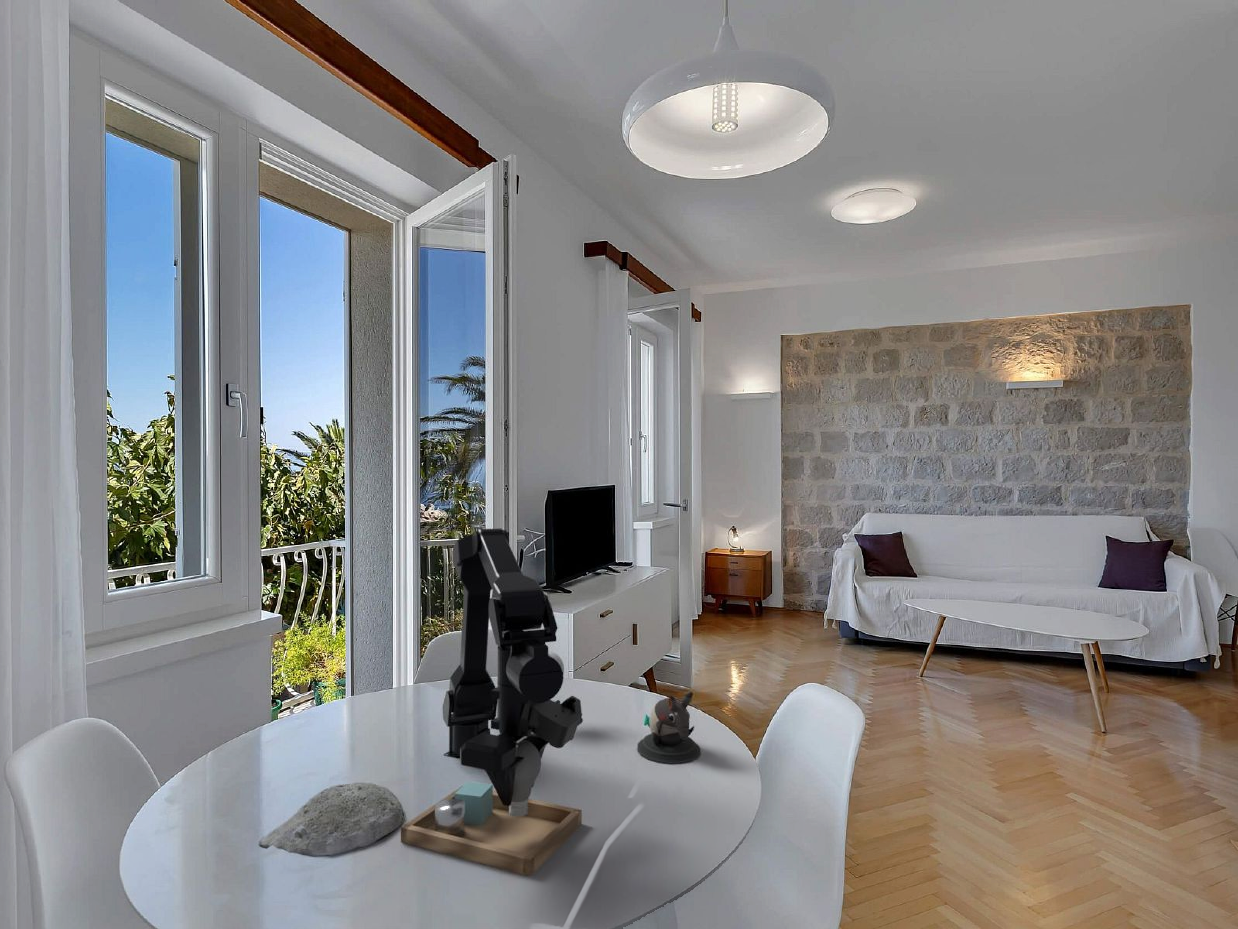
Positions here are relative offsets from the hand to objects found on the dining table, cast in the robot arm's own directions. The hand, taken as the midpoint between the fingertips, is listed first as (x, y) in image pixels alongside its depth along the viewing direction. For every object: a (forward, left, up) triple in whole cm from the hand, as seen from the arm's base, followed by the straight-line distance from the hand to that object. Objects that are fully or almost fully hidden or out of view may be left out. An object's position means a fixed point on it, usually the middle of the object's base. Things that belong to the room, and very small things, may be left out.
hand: (518, 796), depth 94 cm
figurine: (+8, +38, -7) cm, 39 cm away
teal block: (-9, +2, -6) cm, 11 cm away
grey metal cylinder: (-9, -3, -6) cm, 11 cm away
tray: (-4, 0, -6) cm, 7 cm away
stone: (-24, -7, -7) cm, 26 cm away
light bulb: (0, 0, -3) cm, 3 cm away
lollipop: (-18, +39, -6) cm, 43 cm away
